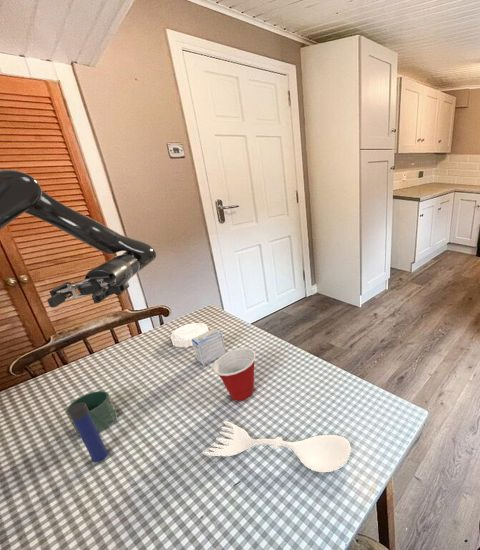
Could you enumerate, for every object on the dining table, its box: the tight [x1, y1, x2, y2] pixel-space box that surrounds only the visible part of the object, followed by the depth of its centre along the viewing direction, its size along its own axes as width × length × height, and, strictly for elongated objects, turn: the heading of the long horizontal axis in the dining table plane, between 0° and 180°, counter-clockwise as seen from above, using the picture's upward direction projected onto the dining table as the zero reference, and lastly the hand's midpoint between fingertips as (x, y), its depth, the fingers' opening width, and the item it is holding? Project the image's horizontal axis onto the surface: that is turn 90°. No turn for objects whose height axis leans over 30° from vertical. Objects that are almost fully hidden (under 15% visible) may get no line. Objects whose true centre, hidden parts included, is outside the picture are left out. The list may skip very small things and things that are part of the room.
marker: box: [68, 402, 109, 463], centre depth 65 cm, size 3×3×15 cm
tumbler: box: [65, 390, 118, 437], centre depth 75 cm, size 8×8×7 cm
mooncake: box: [169, 322, 210, 349], centre depth 110 cm, size 12×12×4 cm
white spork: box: [201, 420, 352, 473], centre depth 68 cm, size 9×32×4 cm, turn 83°
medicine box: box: [192, 328, 227, 366], centre depth 99 cm, size 8×4×9 cm, turn 144°
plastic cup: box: [212, 347, 257, 402], centre depth 83 cm, size 11×11×12 cm
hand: (73, 301), depth 69 cm, fingers open, 8 cm apart
